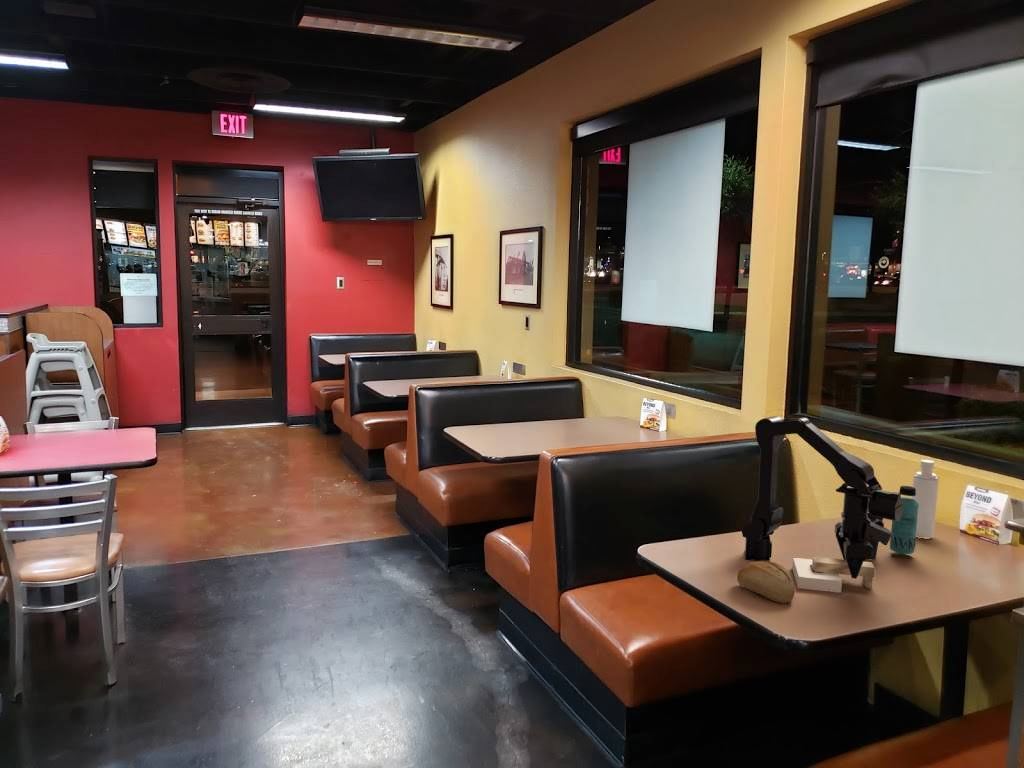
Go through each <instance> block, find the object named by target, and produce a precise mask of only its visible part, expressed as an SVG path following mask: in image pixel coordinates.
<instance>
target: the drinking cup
mask: <svg viewBox="0 0 1024 768" xmlns="http://www.w3.org/2000/svg"><path fill="white" fill-rule="evenodd" d="M868 518H869V520H870V522H873V521H875V520H876V519H878V520H881V521H882V522H884V521H883V520H884V518H879V517H875V516H873V515H872V514H871V513H869V510H868ZM862 541H868V542H869V543H870V544H871V545H872V547H873V549H874V555H873V557H871V558H870V559H872V560H875V559H877V552H878V547H879V543H880V542H879V541H876V540H874V539H872V538H870V540H864V539H862Z"/></svg>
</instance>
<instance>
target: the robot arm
mask: <svg viewBox="0 0 1024 768" xmlns="http://www.w3.org/2000/svg"><path fill="white" fill-rule="evenodd" d="M754 429H755V430H754V431H755V439H756V442H757V445H758V447H759V449H760V450H759V453H760V454H759V471H758V472H759V474H758V492H757V501H756V503H755V506H754V508H753V510H752V514H751V518H750V522H749V523H748V524H747V525H745V526H744V527H743V528H742V529H741V530H740V531H741V535H742V538H745V543H744V550H743V554H744V560H747V561H754V562H756V561H760V560H767V561H771V560H770V559H772V551H773V550H772V549H773V542H772V541H771V536H773V535H774V532H775V531H776V530H778V529H779V528H780V526H781V525H782V523H784V519H783V514H784V508H783V507H779V505H778V503H777V485H778V472H779V471H778V468H779V467H778V466H779V451H780V448H781V446H782V444H783V441H784V439H785V436H786V435H798V436H799V437H800V438H801V439H802V440H803V441H805V443H807V444H808V445H809V446H810V447H812V448H813V449H814V450H815V451H816V452H818V453H819V454H820V455H821V456H822V457H824V459H826V460H827V462H829V463H830V464H831V466H832V467H834V470H835V472H836V473H837V475H838V476H839V478H840V479H841V480H842V481H843V482H844V483H842V485H840V486H839V487H838V488H836V489H835V492H837V493H841V494H844V497H843V509H842V511H841V514H840V515H841V518H842V521H839V522H837V523H836V524H835V525H834V534H835V538H836V541H837V543H838V547H839V549H840V553H841V555H842V560H846V561H847V564H848V567H849V570H850V574H851V575H850V577H851V578H852V579H857V578H858V577H859V576H858V574H859V571H860V569H861V566H862V564H863V562H866V560H869V559H870V558H871V557H873V555H874V549H873V547H872V545H871V544H870V543H869V542H868V541H862V539H864V540H870V538H872V539H874V540H876V541H879V543H880V544H881V545H884V546H888V544H889V543H890V540H891V536H892V533H891V529H888V528H887V527H886V526H885V523H884V521H881V520H878V519H876V520H875V521H873V522H870V520H869V518H868V510H869V513H871V514H872V515H873V516H875V517H879V518H883V520H884V519H885V520H889V521H892V520H893V521H899V520H900V519H901V516H902V513H903V506H904V505H903V502H902V499H901V497H902V495H901V493H899V492H895V491H894V492H893V491H892V492H891V491H887V490H883V486H882V485H881V484H880V482H879V480H878V479H877V477H876V476H875V470H874V467H873V466H872V465H871V464H870V463H868V462H867V461H865V460H864V459H862V458H860V457H859V456H856V455H854V454H851V453H849V452H847V451H845V450H844V449H843V448H841V446H839V444H837V443H836V442H834V441H833V439H831V438H830V437H829V436H827V435H826V434H825V433H824V432H823V431H822V430H820V429H819V428H818V427H817V426H816V425H814V424H813V423H812V422H811V421H810V419H808V418H807V417H800V418H781V417H780V416H778V415H772V416H768V417H764V418H761V419H760V420H758V421H757V422H756V423H755V427H754Z"/></svg>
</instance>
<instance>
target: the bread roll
mask: <svg viewBox="0 0 1024 768" xmlns="http://www.w3.org/2000/svg"><path fill="white" fill-rule="evenodd" d="M736 581H737V583H738V584H739V586H741V587H743V588H745V589H747V590H750V591H752V592H754V593H757V594H758V595H761V596H762V597H765V598H767V599H769V600H771V601H773V602H775V601H776V602H775V603H778V602H781V603H780V604H788V603H790V602H792V601H793V599H794V596H795V592H796V591H795V586H794V583H793V579H792V576H791V574H790V573H789V571H788V570H787V569H786V568H785V567H784V566H782V565H781V564H779V563H777V562H774V561H771V560H770V561H767V560H760V561H752V562H750V563H747V564H746V565H744V566H742V567H741V568H740V569H739V571H738V573H737V575H736ZM787 602H788V603H787Z"/></svg>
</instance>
